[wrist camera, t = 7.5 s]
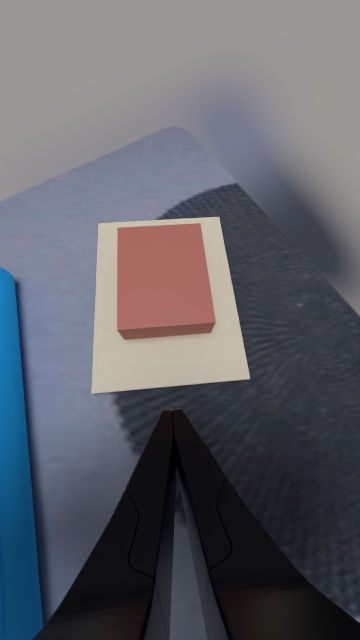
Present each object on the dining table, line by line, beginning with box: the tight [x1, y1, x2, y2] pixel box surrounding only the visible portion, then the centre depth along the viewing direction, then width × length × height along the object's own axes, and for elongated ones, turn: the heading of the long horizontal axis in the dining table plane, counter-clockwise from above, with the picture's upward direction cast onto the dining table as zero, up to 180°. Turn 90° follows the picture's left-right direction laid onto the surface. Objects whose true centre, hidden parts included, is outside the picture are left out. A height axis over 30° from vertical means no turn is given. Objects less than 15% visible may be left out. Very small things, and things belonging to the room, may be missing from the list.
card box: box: [117, 223, 216, 340], centre depth 19 cm, size 3×7×9 cm
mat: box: [92, 217, 250, 394], centre depth 20 cm, size 16×12×1 cm
